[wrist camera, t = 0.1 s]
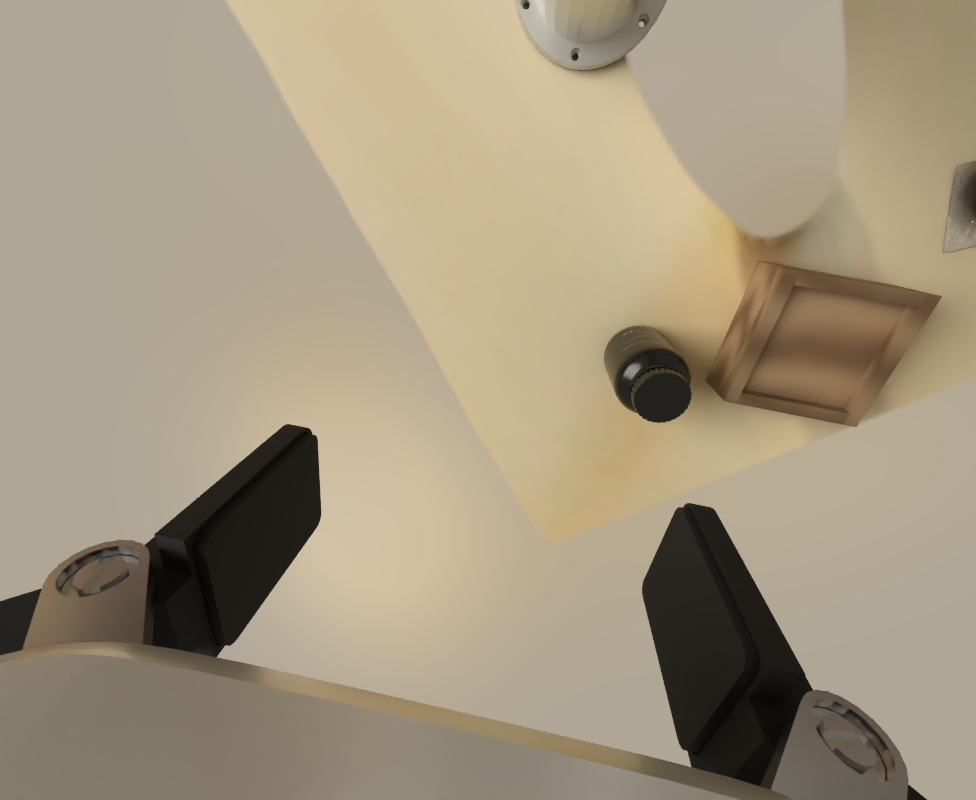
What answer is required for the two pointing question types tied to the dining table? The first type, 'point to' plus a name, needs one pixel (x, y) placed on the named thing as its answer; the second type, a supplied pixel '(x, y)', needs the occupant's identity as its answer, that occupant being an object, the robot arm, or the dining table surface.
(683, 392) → the supplement bottle
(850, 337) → the walnut tray
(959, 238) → the condiment
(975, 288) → the dining table surface
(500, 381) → the dining table surface
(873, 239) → the dining table surface
